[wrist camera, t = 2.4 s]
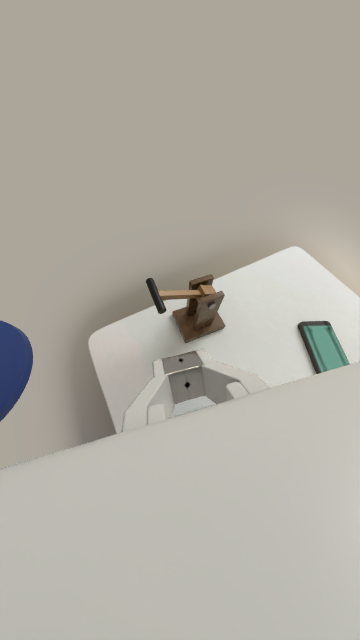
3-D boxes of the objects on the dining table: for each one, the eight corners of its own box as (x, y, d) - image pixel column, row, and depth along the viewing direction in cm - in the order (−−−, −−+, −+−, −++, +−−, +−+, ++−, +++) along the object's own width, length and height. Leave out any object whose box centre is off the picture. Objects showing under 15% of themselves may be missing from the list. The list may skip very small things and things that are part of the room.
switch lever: (156, 316, 25) (161, 306, 23) (143, 285, 27) (148, 274, 25) (214, 310, 31) (222, 302, 30) (200, 286, 34) (206, 277, 32)
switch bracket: (185, 342, 38) (189, 315, 27) (172, 313, 41) (171, 279, 30) (224, 327, 40) (243, 296, 29) (208, 301, 43) (221, 264, 32)
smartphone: (327, 389, 33) (300, 321, 40) (322, 390, 34) (297, 323, 41) (363, 388, 33) (330, 320, 40) (357, 388, 35) (326, 322, 41)
